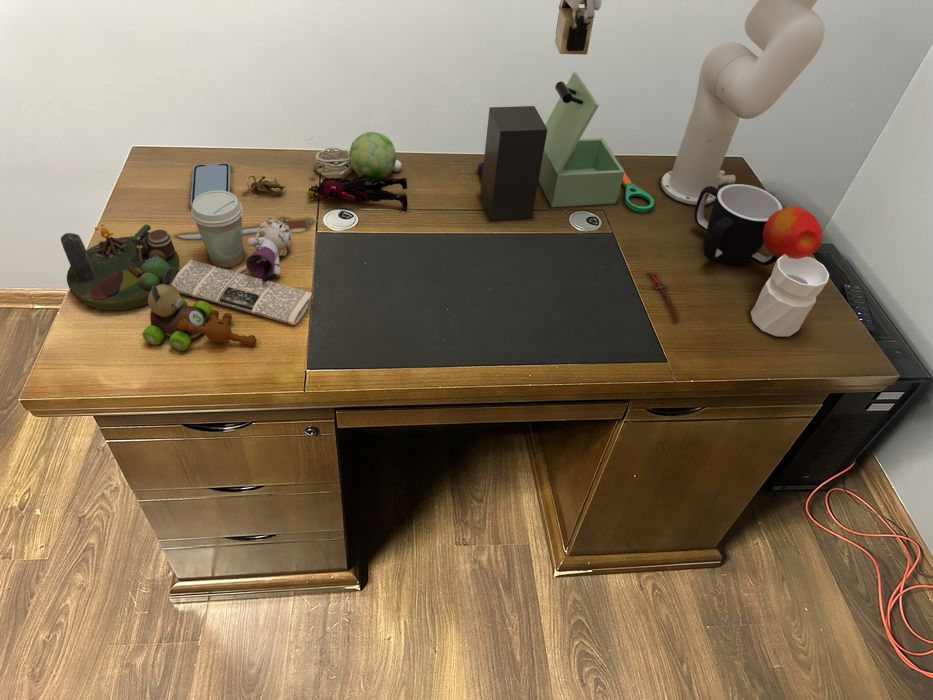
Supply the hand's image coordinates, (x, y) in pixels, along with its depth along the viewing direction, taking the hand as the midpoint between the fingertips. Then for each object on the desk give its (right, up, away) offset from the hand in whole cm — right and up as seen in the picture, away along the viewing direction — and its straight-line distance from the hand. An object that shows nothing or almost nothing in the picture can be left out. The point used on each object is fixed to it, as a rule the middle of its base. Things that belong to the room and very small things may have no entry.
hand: (569, 41), depth 123 cm
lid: (+2, -9, +16) cm, 18 cm away
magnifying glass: (+18, -21, +28) cm, 39 cm away
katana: (+21, -46, +4) cm, 51 cm away
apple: (+39, -37, -8) cm, 54 cm away
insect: (-60, -21, +14) cm, 65 cm away
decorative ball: (-39, -14, +16) cm, 45 cm away
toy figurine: (-59, -49, -9) cm, 78 cm away
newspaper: (-57, -45, -6) cm, 73 cm away
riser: (-10, -25, +21) cm, 34 cm away
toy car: (-65, -52, -10) cm, 84 cm away
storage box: (+5, -20, +28) cm, 34 cm away
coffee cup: (-62, -38, +3) cm, 73 cm away
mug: (+34, -35, +15) cm, 52 cm away
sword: (-60, -34, +7) cm, 69 cm away
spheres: (-37, -11, +30) cm, 49 cm away
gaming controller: (-11, -18, +28) cm, 35 cm away
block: (0, -1, +1) cm, 1 cm away
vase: (+38, -50, +2) cm, 63 cm away
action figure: (-41, -24, +18) cm, 51 cm away
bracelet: (-51, -15, +23) cm, 58 cm away
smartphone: (-71, -22, +17) cm, 76 cm away
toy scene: (-78, -43, -3) cm, 89 cm away
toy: (-56, -43, -6) cm, 71 cm away
